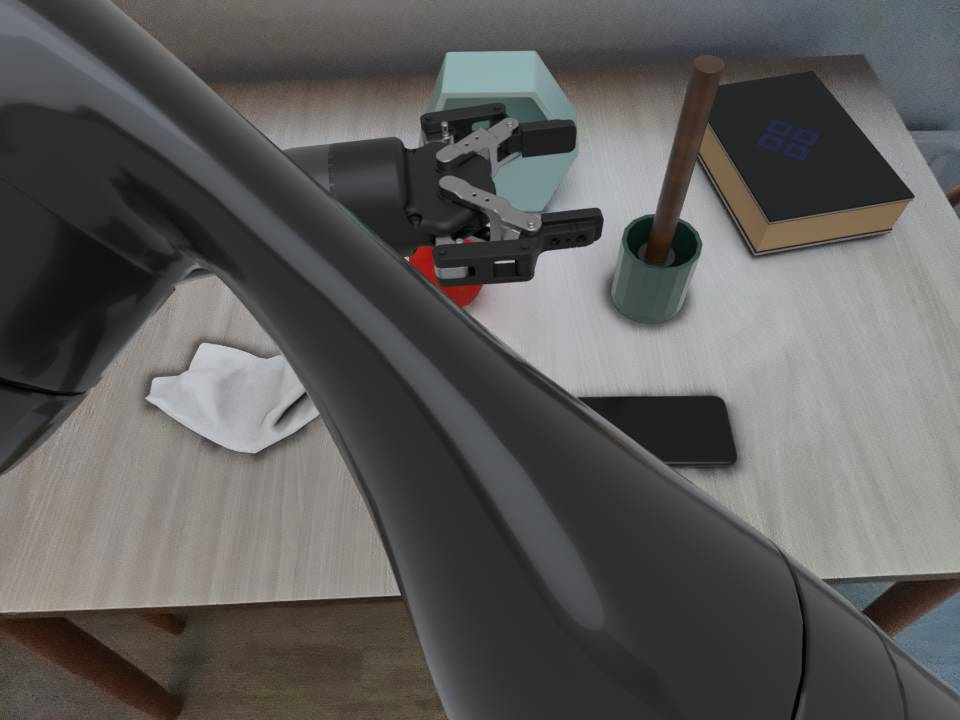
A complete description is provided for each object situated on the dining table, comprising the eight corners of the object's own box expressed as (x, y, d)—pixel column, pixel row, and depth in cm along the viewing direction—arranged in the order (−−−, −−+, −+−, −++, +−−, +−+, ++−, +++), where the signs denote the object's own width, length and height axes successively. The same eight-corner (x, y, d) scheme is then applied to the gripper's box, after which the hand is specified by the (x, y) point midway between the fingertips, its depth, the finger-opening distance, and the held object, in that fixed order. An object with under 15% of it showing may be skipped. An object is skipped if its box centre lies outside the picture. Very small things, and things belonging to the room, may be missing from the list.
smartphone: (722, 398, 67) (568, 399, 68) (724, 393, 66) (569, 395, 67) (738, 468, 63) (573, 469, 63) (741, 464, 62) (574, 465, 62)
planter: (488, 236, 87) (384, 130, 74) (490, 196, 92) (392, 89, 78) (600, 183, 79) (507, 51, 65) (597, 141, 83) (508, 9, 69)
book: (795, 113, 92) (813, 70, 86) (887, 237, 78) (916, 196, 73) (678, 131, 91) (689, 89, 85) (751, 261, 77) (770, 220, 72)
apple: (399, 295, 76) (389, 250, 70) (452, 255, 80) (447, 208, 73) (451, 337, 73) (445, 294, 66) (505, 293, 76) (504, 247, 69)
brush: (668, 301, 73) (742, 75, 50) (634, 305, 73) (691, 81, 50) (659, 275, 75) (725, 46, 52) (625, 278, 75) (676, 51, 52)
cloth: (125, 447, 67) (114, 437, 65) (170, 339, 74) (161, 327, 72) (371, 461, 65) (366, 452, 63) (392, 349, 72) (389, 337, 70)
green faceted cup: (697, 306, 74) (718, 252, 66) (637, 334, 72) (652, 282, 64) (655, 259, 78) (670, 204, 70) (597, 284, 76) (607, 230, 69)
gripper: (319, 244, 34) (621, 210, 34) (325, 86, 42) (571, 59, 42) (350, 328, 40) (605, 298, 41) (350, 177, 48) (564, 153, 49)
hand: (587, 177), depth 42 cm, fingers open, 8 cm apart
